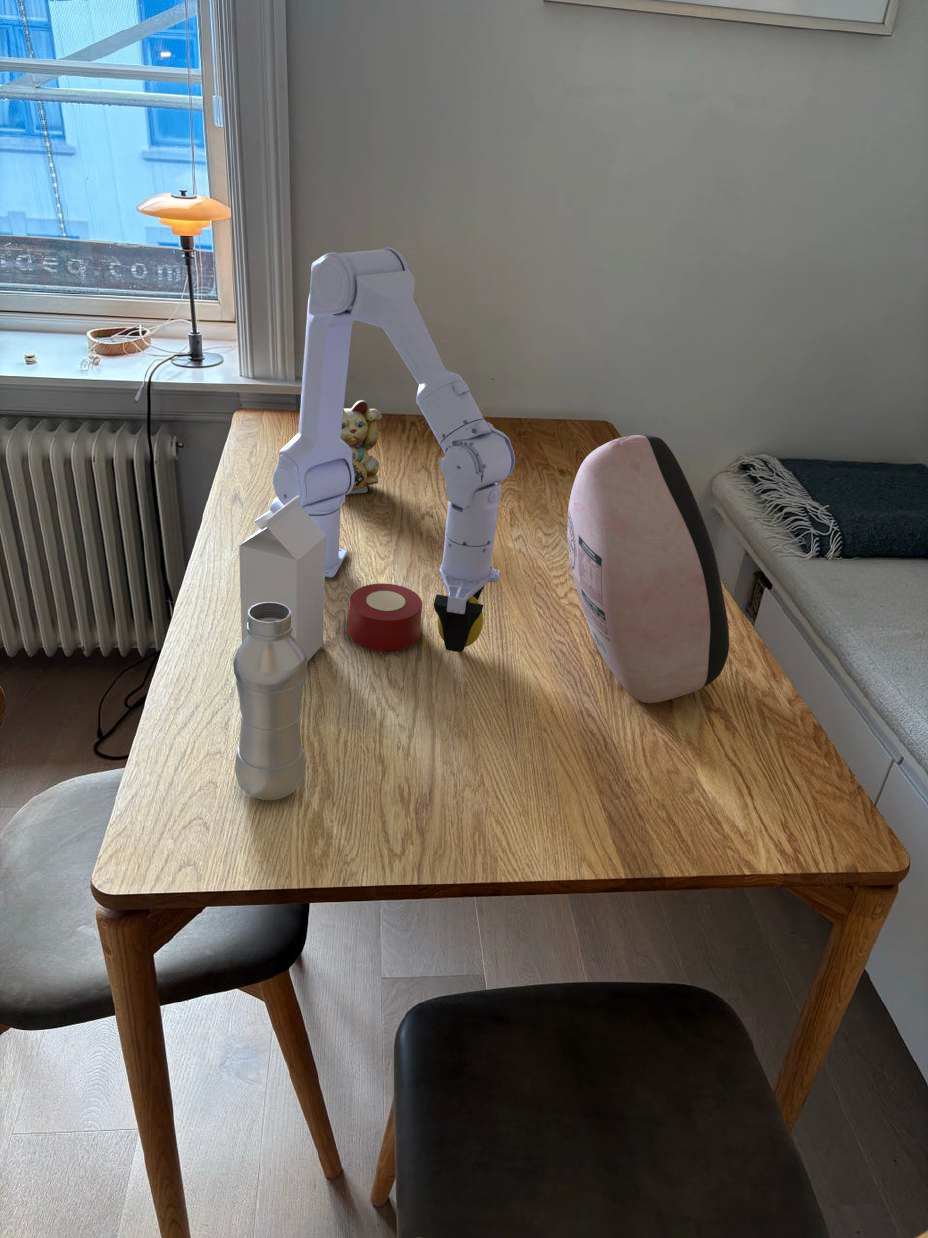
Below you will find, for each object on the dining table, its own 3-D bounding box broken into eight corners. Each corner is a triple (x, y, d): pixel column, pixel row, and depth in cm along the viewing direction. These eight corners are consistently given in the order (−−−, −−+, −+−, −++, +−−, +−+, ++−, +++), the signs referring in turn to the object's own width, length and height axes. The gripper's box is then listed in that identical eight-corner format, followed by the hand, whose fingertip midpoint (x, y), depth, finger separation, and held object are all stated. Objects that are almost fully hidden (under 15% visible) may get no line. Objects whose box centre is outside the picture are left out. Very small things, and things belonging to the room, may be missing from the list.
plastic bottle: (239, 764, 95) (233, 592, 85) (307, 765, 96) (310, 595, 86) (231, 809, 90) (224, 630, 80) (303, 809, 91) (306, 633, 80)
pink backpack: (735, 724, 110) (809, 483, 94) (573, 728, 106) (621, 479, 90) (670, 623, 128) (722, 409, 113) (529, 624, 124) (563, 402, 109)
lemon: (474, 664, 115) (482, 607, 111) (430, 655, 116) (435, 599, 112) (483, 641, 120) (490, 585, 116) (440, 632, 120) (445, 577, 116)
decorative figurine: (329, 500, 151) (331, 408, 143) (309, 479, 157) (311, 391, 149) (384, 492, 155) (389, 403, 148) (363, 473, 161) (367, 387, 154)
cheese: (339, 645, 116) (341, 612, 113) (357, 608, 123) (358, 577, 121) (412, 656, 115) (414, 624, 113) (425, 619, 123) (428, 588, 120)
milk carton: (323, 645, 115) (327, 502, 106) (296, 675, 109) (297, 526, 100) (271, 630, 117) (270, 488, 107) (241, 659, 111) (237, 511, 101)
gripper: (497, 569, 103) (483, 672, 110) (510, 514, 116) (497, 610, 123) (433, 559, 104) (423, 662, 111) (453, 506, 116) (443, 602, 123)
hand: (458, 634), depth 117 cm, fingers open, 6 cm apart
